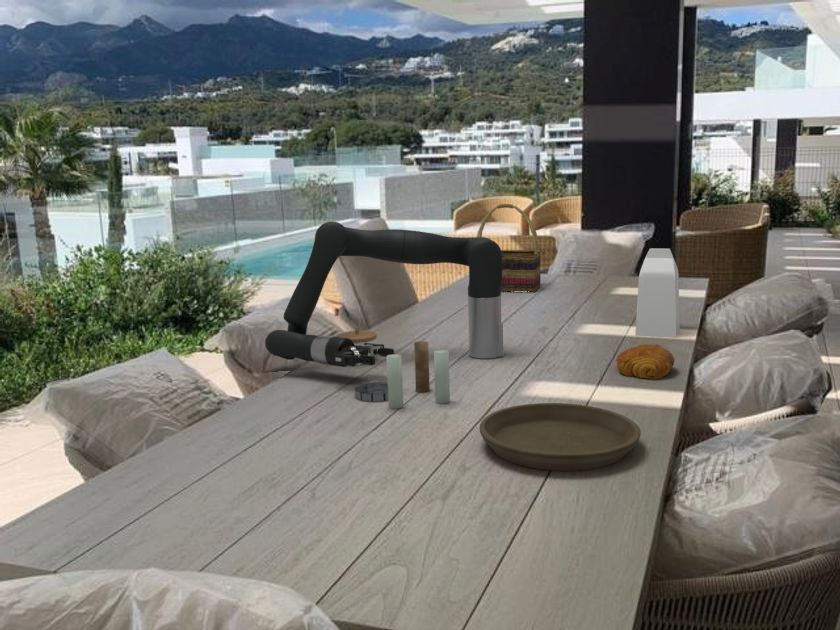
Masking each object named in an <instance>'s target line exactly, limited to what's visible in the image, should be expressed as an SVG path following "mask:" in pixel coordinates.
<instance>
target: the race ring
mask: <svg viewBox="0 0 840 630" xmlns="http://www.w3.org/2000/svg"><path fill="white" fill-rule="evenodd" d="M354 396H355V397H354V398H355V399H357V400H359V401H362V402H371V403H372V402H373V403H377V402H378V403H379V402H387V401H388V381H386V380H385V381H381V380H380V381H369V382H365V383H362V384H359V385H356V386H355V387H354Z"/></svg>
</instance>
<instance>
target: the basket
mask: <svg viewBox="0 0 840 630" xmlns="http://www.w3.org/2000/svg"><path fill="white" fill-rule="evenodd" d="M503 208H504V209H506V208H509V209H512V210H513V209H515V210H516V211H517V212H518V213H520V214H521V215H522V216H523V218H524V219H525V221H526V222H527V223H528V226H529V229H530V232H531V235H532V243H533V249H516V250H515V249H514V250H513V249H508V250H507V249H505V250H503V249H501V252H502V287H501V291H527V292H528V291H529V292H534V293H535V292H537V291H538V290H539V289H540V288H541V253H542V250H541V249H540V246H539V245H540V244H539V240H538V239H539V238H538V233H537V230H536V228H535V225H534V223H533V221H532V220H531V219H530V217H529V215H527V213H526V212H525V211H523V210H522V209H521V208H519V207H518V206H517V205H513V204H511V203H501V204H497V205H496V206H495V207H493V208H492V209H491V210H490V211H489V212H488V213H487V214H486V216H484V218H483V220H482V221H481V223H480V226H479V228H478V230H477V235H476V237H483V231H484V228H485V226H486V223H487V221H488V219H489V218H490V217H491V215H492V214H493V213H494V212H495V211H496V210H497V209H498V210H499V209H503ZM539 287H540V288H539ZM538 288H539V289H538Z"/></svg>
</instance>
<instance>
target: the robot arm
mask: <svg viewBox="0 0 840 630" xmlns="http://www.w3.org/2000/svg"><path fill="white" fill-rule="evenodd" d="M501 250H502V249H501V246H499V244H498V243H497V242H495V241H493V240H492V239H491V238H488V237H485V236H484V237H483V236H482V237H477V236H475V237H470V236H469V237H460V236H459V237H456V236H455V237H454V236H447V235H446V236H445V235H441V234H437V233H432V232H425V231H419V230H410V229H400V228H399V229H398V228H397V229H391V228H390V229H389V228H388V229H375V230H369V229H358V228H352V227H348V226H345V225H343V224H342V223H340V222H338V221H334V220H333V221H326V222H324V223H322V224H321V225H319V226H318V228H317V229H316V231H315V234H314V242H313V247H312V250H311V253H310V257H309V258H308V262H307V264H306V266H305V269H304V271H303V272H302V275H301V277H300V279H299V280H298V283H297V285H296V286H295V289H294V291H293V293H292V295H291V297H290V299H289V301H288V304H287V306H286V307H285V308H286V309H285V311H284V313H283V319H284V321H285V322H287V324H288V326H287V330H284V329H276V330H273V331H271V332H270V333H268V335H267V336H266V338H265V341H264V345H265V349H266V350H267V351H268V353H270V354H271V355H272V356H275V357H278V358H281V359H285V360H290V361H293V360H294V359H299V360H302V361H306V362H311V363H312V362H313V363H319V364H322V365H328V366H335V367H342V368H343V367H345V368H346V367H348V366H349V367H355V366H356V365H357V366H361V365H364V366H365V365H366V366H374V365H376V357H385V358H386V356H387V355H392V354H395V350H394V348H390V347H385V344H383V343H382V344H381V343H376V344H373V343H364V345H361V344H358V345H354V343H353V342H352V340H351V339H349V338H344V337H338V336H334V335H333V336H332V335H317V334H316V335H315V334H307V332H308V324H309V322H310V320H311V318H312V315H313V313H314V311H315V309H316V307H317V304H318V302H319V300H320V297H321V293H322V291H323V289H324V286H325V282H326V280H327V278H328V276H329V274H330V272H331V270H332V268H333V267H334V264H335V263H336V261H337V260H338V258H339V257H364V258H365V257H367V258H370V259H377V260H379V261H380V260H381V261H385V262H393V263H396V264H397V263H398V264H405V265H406V264H408V265H433V264H456V265H461V266H466V267H468V268H469V269H468V272H469V273H468V277H469V281H468V285H467V302H468V303H467V306H468V307H467V309H468V350H469V351H468V352H469V353H468V354H469V355H468V356H469V357H472V358H474V359H475V358H476V359H482V360H483V359H495V358H499V357H500V358H501V357H504V324H503V322H502V292H501V287H502V252H501ZM369 353H370V356H368V354H369ZM361 363H362V364H361Z"/></svg>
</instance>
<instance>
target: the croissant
mask: <svg viewBox="0 0 840 630" xmlns="http://www.w3.org/2000/svg"><path fill="white" fill-rule="evenodd" d="M615 361H616V364H617V365H616V366H617V370H618V372H620V373H621V374H623V375H624V376H626V377H629V378H633V377H636V378H638V379H647V380H649V379H650V380H659V379H662V378H664V376H667V375H668V374H669V373H670V371H671V369H672V367H674V365H675V357H674V356H673V353H671V351H670V350H668V349H666V348H664V347H663V346H661V345H658V344H640V345H637V346H633V347H630V348H628V349H626V350H623V351H622V352H621V353H619V354H618V355H617V357H616V360H615Z"/></svg>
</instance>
